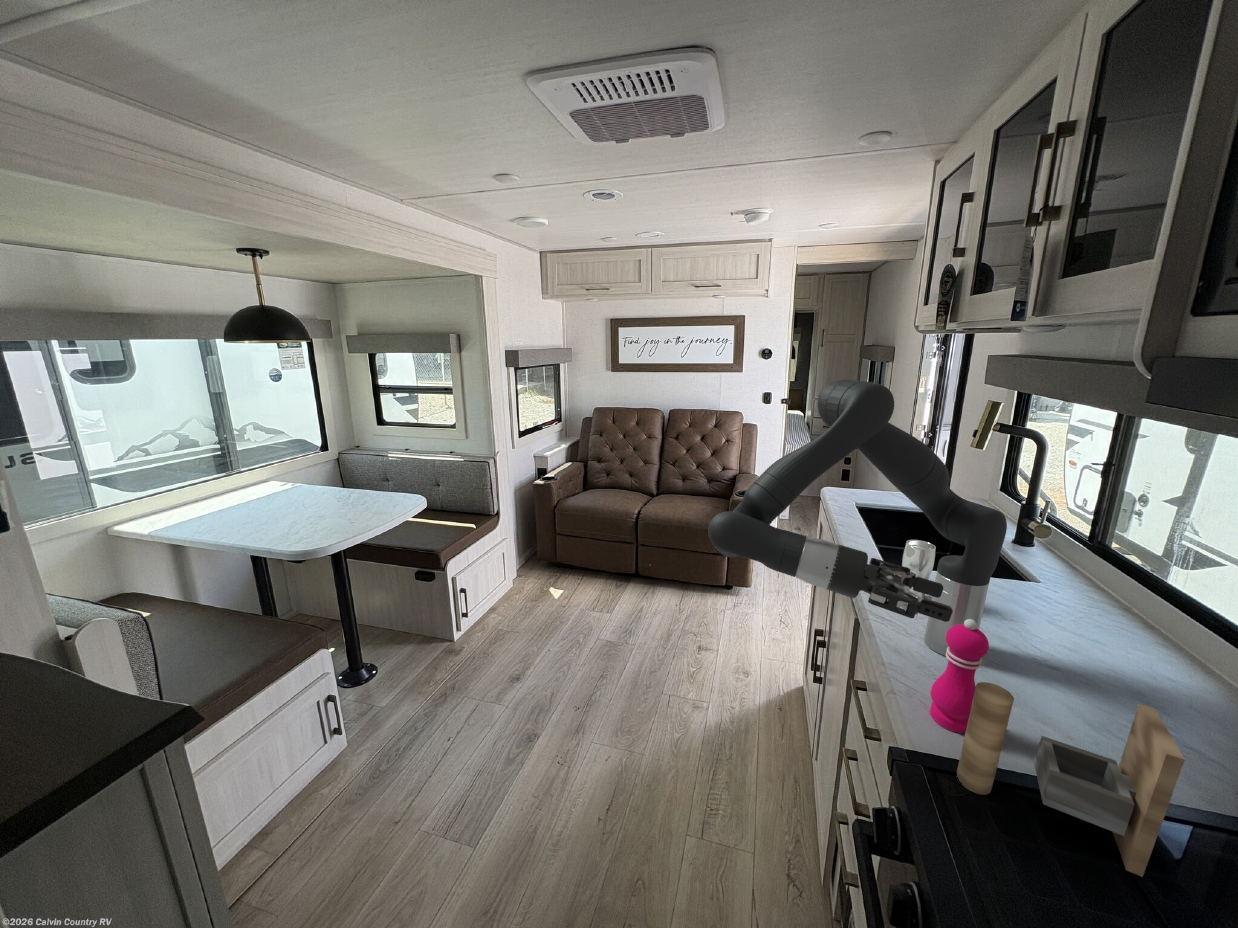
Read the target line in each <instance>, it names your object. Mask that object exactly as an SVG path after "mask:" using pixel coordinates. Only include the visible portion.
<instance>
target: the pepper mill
mask: <svg viewBox="0 0 1238 928" xmlns="http://www.w3.org/2000/svg"><path fill="white" fill-rule="evenodd" d="M946 643H947V645H948V646H949V647H948V648H947V652H946V656H945V657H946V658H947V665H946V668H945V670H944V671H943V673H941V675H940V676H939V677H938V678H937V679H935V681H934V682H933V684H932V685H931V689H930V690H929V691H930V692H929V693H930V697H931V698H930V699H931V700H932V702H931V704H930V709H929V714H930V715H929V716H930V717H931V719H932V720H933V722H935V723H936V724H937V725H938V726H940V727H942V728H943V729H946V730H948V731H951V732H953V733H959V734H965V733H966V728H967V724H968V720H969V715H970V711H971V706H972V702H973V697H974V693H975V688H976V682H975V675H976V671H977V670H978V669H980V668H981V666H982V661H983V659H982V658H983V657H984V656H986V655H987V654H988V652H989V649H990V643H989V640H988V637H987V636H986V634H984V632H983V631H982V630H980V628H979V629H977V623H976V622H975V621H974V620H972V619H967V620H965V622H964V624H959V625H954V626H952V627H951V628H950V629H949V630H948V631H947V634H946Z"/></svg>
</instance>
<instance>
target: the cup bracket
mask: <svg viewBox="0 0 1238 928" xmlns="http://www.w3.org/2000/svg"><path fill="white" fill-rule="evenodd" d="M1128 733H1129V734H1128V737H1127V739H1126V743H1125V745H1124V749H1123V752H1122V756H1121V758H1120V762H1119V765H1118V762H1117V760H1115V759H1112V758H1110V757H1107V756H1104V755H1100V754H1097V753H1094V752H1091V751H1088V750H1086V749H1082V748H1079V747H1077V746H1075V745H1074V746H1073V745H1071V744H1068V743H1064V742H1061V741H1058V740H1055V739H1054V738H1050V737H1047V736H1044V735H1041V736H1040V741H1039V744H1038V748H1037V752H1036V755H1035V758H1034V763H1033V764H1034V770H1035V773H1036V778H1037V783H1038V788H1039V791H1040V796H1041V800H1042V804H1043V805H1044V806H1046V807H1050V808H1052V809H1054V810H1057V811H1060V812H1061V813H1065V814H1067V815H1070V816H1072V817H1075V818H1077V819H1080V820H1082V821H1084V822H1087V823H1090V824H1092V825H1095V826H1098V827H1100V828H1102V829H1106V830H1108V831H1109V832H1110V831H1111V832H1112V834H1113V836H1114V839H1115V843H1116V845H1117V848H1118V850H1119V851H1118V852H1119V853H1120V857H1121V860H1122V862H1123V866H1124V868H1125V870H1126V871H1127V872H1129V873H1132V874H1135V875H1137V876H1139V877H1141V878H1143V877H1144V874H1145V872H1146V868H1147V866H1148V864H1149V862H1150V858H1151V856H1152V852H1153V849H1154V847H1155V845H1156V844H1155V843H1156V841H1157V838H1158V836H1159V832H1160V830H1161V827H1162V824H1163V822H1164V819H1165V816H1166V813H1167V811H1168V808H1169V805H1170V802H1171V799H1172V797H1173V794H1174V790H1175V789H1176V786H1177V783H1178V780H1179V777H1180V774H1181V772H1182V768H1183V766H1184V763H1185V761H1186V759H1185V758H1184V756H1183V754H1182V752H1181V750H1180V749H1179V747H1178V746H1177V743H1176V742H1175V740H1174V738H1173V737H1172V735H1171V733H1170V732H1169V730H1168V728H1167V726H1166V725H1165V723H1164V721H1163V720H1162V718H1161V717H1160V714H1159V713H1158V712H1157V709H1156V708H1155V707H1152V706H1149V705H1145V704H1141V703H1138V705H1137V709H1136V711H1135V715H1134V718H1133V721H1132V724H1131V727H1130V730H1129V732H1128Z"/></svg>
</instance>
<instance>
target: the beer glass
mask: <svg viewBox="0 0 1238 928" xmlns="http://www.w3.org/2000/svg"><path fill="white" fill-rule="evenodd" d="M936 548H937V547H936V546H935V545H934V544H932V543H931V542H928V541H925V540H919V539H908V540H906V543H905V547H904V550H903V554H902V563H901V566H903V567H908V568H909V569H911V571H910V572H912V573H914V574H916V577H917V576H918V577H921V578H925V579H928V580H930V577H931V574H932V572H933V569H934V566H935V565H934V564H935V558H936ZM910 591H911V592H913V593H914V594H916V595H918V596H920V597H922V598H926V594H924V593H920V592H917V591H914V590H913V587H912V589H910Z"/></svg>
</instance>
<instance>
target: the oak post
mask: <svg viewBox="0 0 1238 928" xmlns="http://www.w3.org/2000/svg"><path fill="white" fill-rule="evenodd" d="M975 686H976V688H975V693H974V697H973V702H972V706H971V711H970V715H969V720H968V724H967V728H966V733H964V739H963V742H962V743H963V744H962V747H961V752H960V756H959V761H958V763H957V764H958V766H957V770H956V773H957V776H956V778H957V777H958V779H959V781H960V782H961V783H962V784H961V783H960V782H959V781H958V782H959V783H960V784H961V785H962V787H964V788H965V789H967V790H968V791H970V792H973V793H975V794H978V795H985V796H986V795H989V794H991V792H992V789H993V784H994V781H995V777H996V773H997V769H998V766H999V761H1000V756H1001V754H1002V753H1001V752H1002V749H1003V744H1004V741H1005V737H1006V732H1007V729H1008V724H1009V721H1010V716H1011V713H1012V709H1013V706H1014V705H1013V704H1014V700H1015V698H1014V695H1013V694H1012V693H1011V692H1010V691H1008V689H1006V688H1004V687H1003V686H1000V685H998V684H995V683H992V682H987V681H980V682H977V683H976V684H975ZM958 779H957V780H958Z"/></svg>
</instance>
